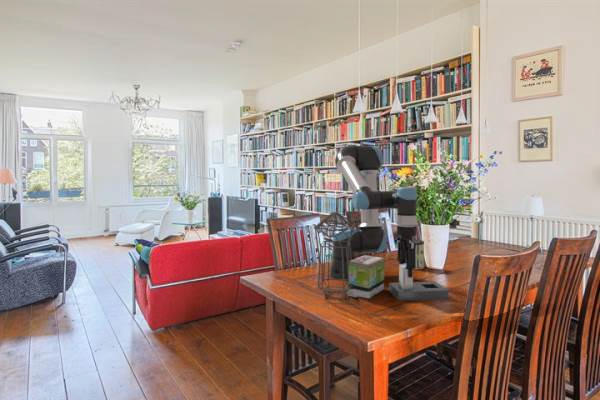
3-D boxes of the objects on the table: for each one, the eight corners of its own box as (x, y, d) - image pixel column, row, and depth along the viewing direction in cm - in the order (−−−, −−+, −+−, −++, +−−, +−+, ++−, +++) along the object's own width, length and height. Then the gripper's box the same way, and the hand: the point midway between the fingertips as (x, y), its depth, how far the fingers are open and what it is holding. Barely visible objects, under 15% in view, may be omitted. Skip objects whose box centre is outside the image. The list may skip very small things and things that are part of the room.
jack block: (398, 303, 146) (398, 291, 146) (389, 293, 158) (389, 282, 158) (448, 301, 148) (448, 290, 147) (435, 291, 160) (435, 281, 159)
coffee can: (405, 263, 209) (405, 238, 208) (424, 265, 205) (425, 240, 204) (402, 268, 200) (402, 241, 199) (422, 270, 195) (422, 243, 194)
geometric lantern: (356, 290, 162) (356, 209, 158) (351, 304, 147) (351, 214, 143) (320, 288, 166) (320, 209, 162) (312, 300, 151) (311, 214, 147)
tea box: (369, 301, 149) (370, 264, 148) (347, 296, 155) (347, 260, 153) (384, 291, 161) (385, 257, 160) (362, 286, 167) (363, 254, 166)
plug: (402, 297, 150) (402, 266, 149) (398, 293, 154) (399, 263, 154) (412, 296, 151) (413, 265, 150) (408, 293, 155) (409, 263, 154)
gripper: (425, 229, 141) (424, 289, 143) (407, 222, 160) (406, 275, 162) (406, 229, 141) (405, 289, 142) (389, 222, 160) (389, 275, 161)
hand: (405, 282), depth 152 cm, fingers open, 6 cm apart
